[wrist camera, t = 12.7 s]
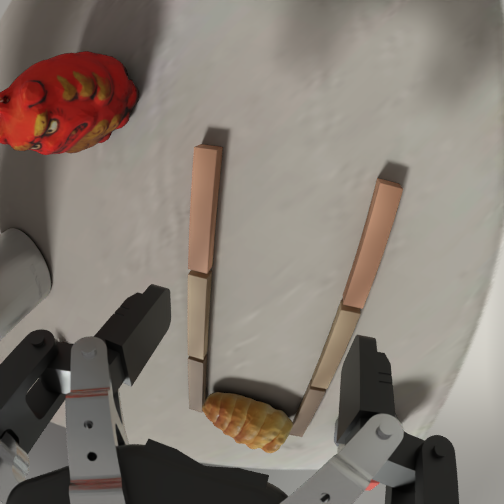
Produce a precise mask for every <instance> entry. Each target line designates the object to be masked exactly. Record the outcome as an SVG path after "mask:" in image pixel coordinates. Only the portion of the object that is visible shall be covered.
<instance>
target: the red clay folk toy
mask: <svg viewBox="0 0 504 504" xmlns="http://www.w3.org/2000/svg"><path fill="white" fill-rule="evenodd" d="M127 75H128V73H127V70H126V68H125V67H124V66H123V64H122V63H121V62H120V61H118V60H117V59H115V58H114V57H111V56H107V55H102V54H97V53H92V52H89V51H84V52H79V53H66V54H61V55H58V56H55V57H53V58H50V59H48V60H43V61H40V62H38V63H36V64H34V65H32V66H31V67H29V68H28V69H27V70H25V71H24V72H23V73H22V74H21V75H20V76H19V77H17V78H16V79H15V81H14V82H13V83H12V84H11V85H10V87H9V88H7V89H5V90H4V91H2V92H0V143H2V144H9V145H10V146H12V148H13V149H14V150H18V151H26V150H28V149H30V150H34V151H36V152H38V153H40V154H44V155H49V154H60V153H64V152H67V153H76V152H80V151H82V150H85V149H87V148H90V147H92V146H94V145H96V144H97V143H102V142H105V141H106V140H108V139H109V137H110V136H111V133H112V131H113V130H115V129H119V128H122V127H123V126H125V124H126V123H127V122H128V121H129V115H130V112H131V110H132V108H133V107H134V106H135V105H136V103H137V101H138V98H139V91H138V89H137V87H136V86H135V85H134V83H133V81H132V80H129V79H128V77H127Z"/></svg>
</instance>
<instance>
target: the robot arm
mask: <svg viewBox="0 0 504 504" xmlns="http://www.w3.org/2000/svg"><path fill="white" fill-rule="evenodd" d="M50 289H51V280H50V274H49V271H48V268H47V265H46V263H45V260H44V258H43V257H42V255H41V253H40V251H39V250H38V248H37V247H36V245H35V244H34V243H33V241H32V240H31V239H30V238H29V237H28V236H27V235H26V234H25V233H23V232H22V231H20V230H18V229H15V228H10V229H8V230H6V231H4V232H3V233H1V234H0V341H1V340H2V339H3V338H4V337H5V336H6V335H7V334H8V333H9V332H10V331H11V330H12V329H13V328H14V327H15V326H16V325H17V324H18V323H19V322H20V321H21V320H22V319H23V318H24V317H25V316H26V315H27V314H29V313H30V312H31V311H32V310H33V309H34V308H35V307H36V306H37V305H38V304H39V303H40V302H41V301H43V300H44V299H45V298H46V297H47V296H48V294H49V293H50ZM170 322H171V303H170V290H169V289H168V288H164V287H161V286H157V285H154V284H151V285H150V286H149V287H148V288H147V289H146V290H145V292H144V293H143V294H141V293H136V294H134V295H132V296H130V297H128V298H127V299H126V300H125V301H124V302H123V304H122V305H121V306H120V308H118V309H117V310H116V312H115V314H113V315H112V316H111V317H110V318H109V320H108V321H107V322H106V323H105V324H104V325H103V327H102V328H101V329H100V330H99V331H98V332H97V334H96V335H95V336H94V337H92V336H91V337H84V338H81V339H79V340H78V341H76V342H75V343H74V344H69V343H62V342H56V341H55V339H54V336H53V334H52V333H51V332H49V331H47V330H36V331H33V332H31V333H30V334H28V335H27V336H26V337H25V338H24V339H23V340H22V341H21V343H20V344H19V345H18V346H17V347H16V348H15V349H14V350H13V351H12V352H11V353H10V354H9V355H8V357H7V358H6V359H5V360H4V361H3V362H2V363H1V364H0V501H1V502H2V503H3V504H353V503H354V502H355V500H356V499H357V498H358V497H359V496H360V495H361V494H362V493H363V492H364V490H365V489H366V488H367V487H368V486H369V484H370V481H371V479H372V480H375V481H377V482H380V483H382V484H385V485H386V495H385V504H459V496H458V480H457V468H456V459H455V450H454V447H453V445H452V443H451V442H450V441H449V440H448V439H447V438H445V437H443V436H440V435H434V436H431V437H429V438H427V439H426V440H425V441H424V440H422V439H419V438H417V437H414V436H412V435H410V434H407V433H406V432H404V430H403V427H402V425H401V423H400V422H399V421H398V420H397V419H396V418H395V408H394V395H393V385H392V376H391V374H392V373H391V364H390V362H389V360H388V358H387V357H386V355H385V353H381V352H377V346H376V339H375V338H372V337H367V336H361V335H356V337H355V339H354V341H353V343H352V346H351V348H350V350H349V352H348V354H347V357H346V359H345V361H344V364H343V367H342V372H341V386H340V402H339V417H338V429H337V440H336V443H339V444H345V446H344V447H343V448H342V450H341V451H340V452H339V453H337V454H336V455H334V456H333V457H332V458H331V459H330V460H329V461H328V462H327V463H326V464H325V465H324V466H323V467H321V468H320V469H319V470H318V471H317V472H316V473H315V474H314V475H313V476H312V477H311V478H309V479H308V480H307V481H306V482H305V483H304V484H303V485H302V486H300V487H299V488H298V489H297V490H296V491H295V492H293V493H292V494H291V495H290V496H289V497H288V496H287V495H286V494H285V493H284V492H283V491H282V490H280V489H279V488H278V487H276V486H274V485H273V484H270V483H268V482H267V481H268V477H269V475H266V474H261V473H256V472H252V471H248V470H244V469H240V468H226V467H210V466H204V465H202V464H200V463H198V462H197V461H195V460H193V459H192V458H190V457H188V456H187V455H185V454H183V453H182V452H180V451H179V450H177V449H175V448H172V447H169V446H166V445H164V444H161V443H159V442H156V441H153V440H151V439H148V441H147V443H146V445H139V444H131V445H129V442H128V438H127V435H126V431H125V426H124V420H123V414H122V408H121V401H120V393H119V388H120V386H121V385H122V383H124V384H127V385H129V386H132V385H133V384H134V382H135V380H136V379H137V377H138V376H139V374H140V373H141V371H142V369H143V368H144V366H145V365H146V363H147V362H148V360H149V358H150V357H151V355H152V354H153V352H154V351H155V349H156V348H157V346H158V344H159V343H160V341H161V340H162V338H163V337H164V335H165V334H166V332H167V330H168V328H169V326H170ZM38 378H39V379H38ZM37 379H38V380H37ZM36 380H37V381H36ZM35 381H36V383H35ZM34 383H35V384H34ZM33 384H34V385H33ZM32 385H33V386H32ZM31 386H32V388H31ZM30 388H31V389H30ZM29 389H30V390H29ZM28 390H29V392H28ZM27 392H28V393H27ZM64 400H65V408H66V434H67V449H68V461H69V466H66V467H64V468H61V469H58V470H55V471H52V472H49V473H46V474H43V475H40V476H37V477H34V478H31V479H27V480H25V479H26V476H27V475H28V473H29V458H28V453H29V451H30V450H31V448H32V447H33V445H34V444H35V442H36V441H37V439H38V438H39V436H40V435H41V433H42V432H43V431H44V429H45V428H46V426H47V424H48V423H49V422H50V420H51V419H52V418H53V416H54V415H55V413H56V412H57V410H58V409H59V408H60V406H61V405H62V403H63V402H64Z"/></svg>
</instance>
